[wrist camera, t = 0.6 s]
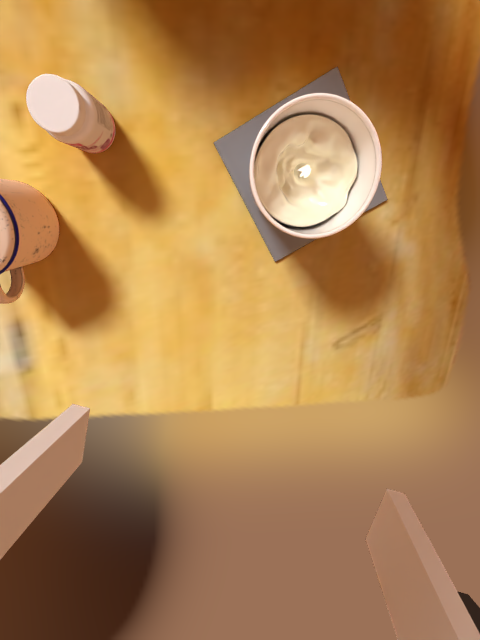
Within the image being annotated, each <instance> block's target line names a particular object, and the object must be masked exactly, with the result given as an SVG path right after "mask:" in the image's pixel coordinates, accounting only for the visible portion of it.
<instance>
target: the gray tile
mask: <svg viewBox="0 0 480 640" xmlns="http://www.w3.org/2000/svg"><path fill="white" fill-rule="evenodd" d="M313 93H328V94H334V95H337V96H340V97H343V98H345V99H347V100H349V101H350V99H349V96H348V93H347V91H346V88H345V85H344V83H343V80H342V77H341V75H340V72H339V69H338V67H336V68H334V69H332V70H331V71H329V72H327V73H326V74H324V75H323V76H321V77H319V78H318V79H316V80H315V81H313V82H311V83H310V84H308V85H306V86H305V87H303V88H302V89H300V90H298V91H297V92H295V93H293V94H292V95H290V96H289V97H287V98H285V99H284V100H282V101H280V102H279V103H277V104H276V105H274V106H272V107H271V108H269V109H267V110H266V111H264V112H263V113H261V114H259V115H258V116H256V117H255V118H253V119H251V120H250V121H248V122H246V123H245V124H243V125H242V126H240V127H238V128H237V129H235V130H233V131H232V132H230V133H229V134H227V135H225V136H224V137H222V138H220V139H219V140H217V141H216V142H214V145H215V147H216V149H217V151H218V153H219V154H220V156H221V158H222V160H223V162H224V164H225V166H226V168H227V170H228V172H229V174H230V176H231V178H232V180H233V182H234V183H235V185H236V187H237V189H238V191H239V193H240V195H241V197H242V199H243V201H244V203H245V205H246V207H247V209H248V211H249V212H250V214H251V216H252V218H253V220H254V222H255V224H256V226H257V228H258V230H259V232H260V234H261V236H262V238H263V240H264V242H265V243H266V245H267V247H268V249H269V251H270V253H271V255H272V257H273V259H274V261H275V262H276V261H278V260H279V259H281V258H283V257H285V256H287V255H288V254H290V253H292V252H294V251H296V250H297V249H299V248H301V247H303V246H305V245H306V244H308V243H310V242H312V241H314V240H316V239H317V238H316V239H306V238H299V237H295V236H292V235H289V234H287V233H285V232H283V231H281V230H279V229H278V228H277V227H275V226H274V225H273V224H272V223H270V222H269V221H268V219H267V218H266V217H265V216H264V215H263V214H262V213H261V212H260V211H259V210H258V208H257V207H256V206H255V204H254V202H253V200H252V198H251V195H250V191H249V167H250V158H251V153H252V149H253V146H254V143H255V140H256V138H257V136H258V134H259V132H260V130H261V128H262V127H263V125H264V124H265V122H266V121H267V120H268V119H269V117H270V116H271V115H272V114H273V113H274V112H275V111H276V110H277V109H279V108H280V107H281V106H283V105H284V104H286V103H287V102H289V101H291V100H293V99H295V98H297V97H300V96H303V95H307V94H313ZM386 200H388V199H387V197H386V194H385V191H384V189H383V186H382V184H381V181H380V180H379V184H378V187H377V190H376V193H375V195H374V197H373V199H372V201H371V202H370V204H369V206H368V207H367V209H366V210H365V211H364V212H366V211H368V210H370V209H371V208H373V207H375V206H377V205H379V204H380V203H382V202H384V201H386ZM364 212H363V213H364Z"/></svg>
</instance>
